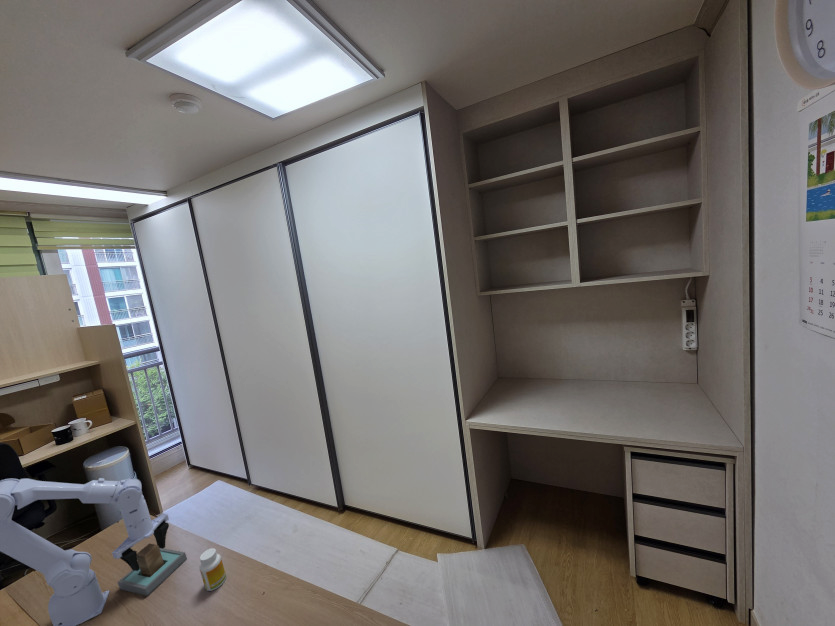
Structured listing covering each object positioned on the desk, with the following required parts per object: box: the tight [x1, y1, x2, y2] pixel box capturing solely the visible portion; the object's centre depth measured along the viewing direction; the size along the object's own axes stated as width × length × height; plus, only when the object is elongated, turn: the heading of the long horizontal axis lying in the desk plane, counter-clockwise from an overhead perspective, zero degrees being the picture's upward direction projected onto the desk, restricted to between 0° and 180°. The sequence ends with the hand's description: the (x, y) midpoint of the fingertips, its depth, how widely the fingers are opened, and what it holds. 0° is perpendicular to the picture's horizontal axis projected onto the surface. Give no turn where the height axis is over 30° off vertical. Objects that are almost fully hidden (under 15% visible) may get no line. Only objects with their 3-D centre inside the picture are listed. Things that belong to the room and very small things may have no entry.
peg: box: [137, 543, 164, 578], centre depth 102 cm, size 4×4×8 cm
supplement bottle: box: [199, 547, 227, 592], centre depth 96 cm, size 5×5×10 cm
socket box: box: [117, 548, 188, 597], centre depth 103 cm, size 12×12×2 cm
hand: (149, 558), depth 102 cm, fingers open, 7 cm apart
